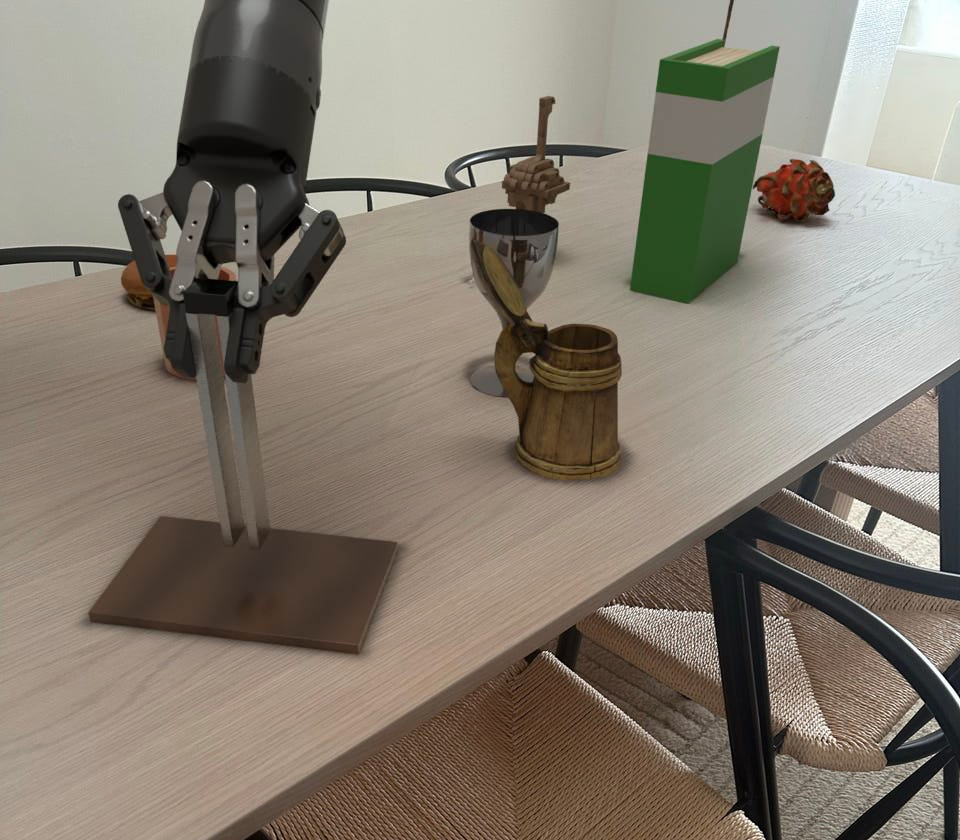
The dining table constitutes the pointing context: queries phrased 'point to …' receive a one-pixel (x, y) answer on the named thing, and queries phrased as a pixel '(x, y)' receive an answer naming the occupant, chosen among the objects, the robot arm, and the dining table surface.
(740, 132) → the hardback book
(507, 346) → the wooden mug
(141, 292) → the burger
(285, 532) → the board
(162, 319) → the holder
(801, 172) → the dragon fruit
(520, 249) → the wine glass
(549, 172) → the ostrich figurine
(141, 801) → the dining table surface
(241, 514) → the tongs
